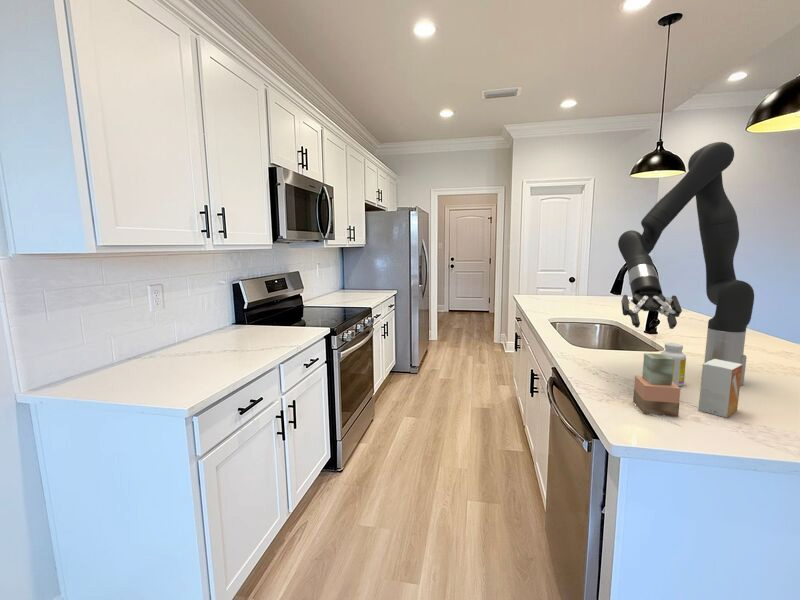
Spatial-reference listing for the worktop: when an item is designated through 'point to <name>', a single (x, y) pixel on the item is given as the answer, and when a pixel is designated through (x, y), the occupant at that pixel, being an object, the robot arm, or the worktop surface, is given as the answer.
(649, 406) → the tower base block
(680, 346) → the supplement bottle
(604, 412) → the worktop surface
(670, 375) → the green block
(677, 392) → the tower top block
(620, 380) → the worktop surface
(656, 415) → the butter knife
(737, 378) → the small box
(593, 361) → the worktop surface
